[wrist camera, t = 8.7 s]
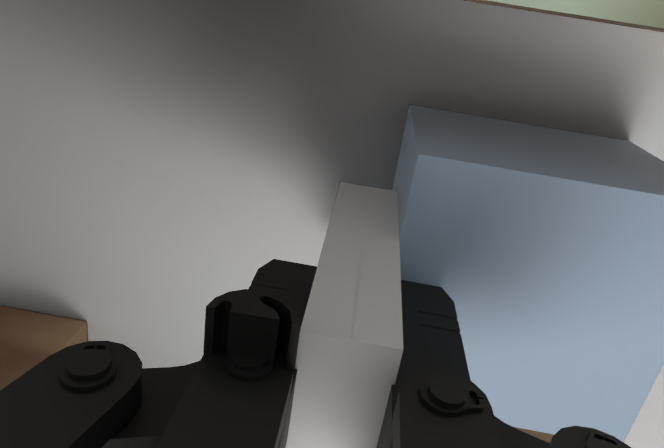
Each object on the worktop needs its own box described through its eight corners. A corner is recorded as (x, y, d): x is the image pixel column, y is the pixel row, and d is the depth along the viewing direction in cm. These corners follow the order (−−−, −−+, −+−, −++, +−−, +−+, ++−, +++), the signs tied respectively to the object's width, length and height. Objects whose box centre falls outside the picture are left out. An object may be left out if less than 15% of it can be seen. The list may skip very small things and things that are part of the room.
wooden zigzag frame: (4, 473, 22) (-80, 576, 18) (-95, -161, 13) (-305, -229, 9) (526, 575, 21) (556, 706, 17) (804, -22, 12) (1000, -31, 8)
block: (371, 290, 17) (364, 399, 12) (409, 104, 14) (418, 154, 10) (557, 323, 17) (621, 447, 12) (628, 140, 14) (742, 208, 10)
